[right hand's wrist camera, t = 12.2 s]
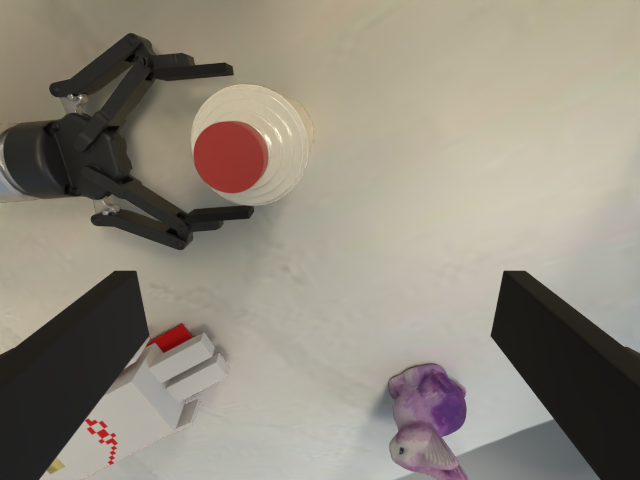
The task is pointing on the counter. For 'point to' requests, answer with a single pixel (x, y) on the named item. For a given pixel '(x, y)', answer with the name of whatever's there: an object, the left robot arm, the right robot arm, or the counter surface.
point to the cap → (230, 156)
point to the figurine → (427, 421)
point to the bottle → (275, 127)
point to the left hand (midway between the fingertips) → (241, 145)
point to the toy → (142, 403)
